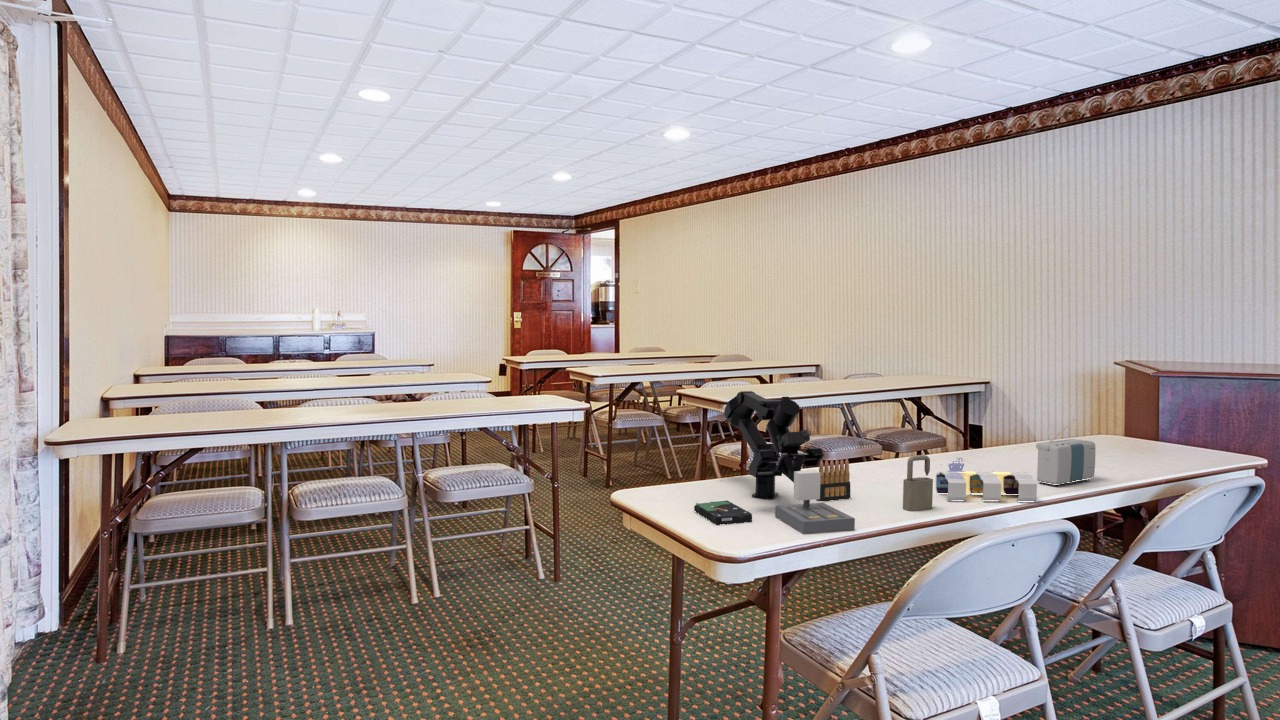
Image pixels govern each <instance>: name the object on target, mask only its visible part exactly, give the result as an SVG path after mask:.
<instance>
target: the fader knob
mask: <svg viewBox="0 0 1280 720" xmlns="http://www.w3.org/2000/svg"><path fill="white" fill-rule="evenodd" d="M793 498H794V499H795V500H798V501H803V502H802V504H803V506H804V507H810V504H811V500H812V501H814V500H816V499H820V472H819V470H818V471H817V470H813V469H812V470H801V471H794V483H793ZM816 501H817V500H816Z"/></svg>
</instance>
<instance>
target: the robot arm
mask: <svg viewBox="0 0 1280 720" xmlns="http://www.w3.org/2000/svg"><path fill="white" fill-rule="evenodd" d="M723 409H724V410H723V411H724V412H723V413H724V417H725V418H726V421H727V422H729V424H730V425H732V426H734V427H736V428H738V429H739V431H740V433H741V434H742V436H743V437H744V438H743V439H744V440H745V441H746V443H747V445H748V446H749V449H751V451H752V454H753V458H752V460H751V461H750V464H749V466H748V474H749V475H750V476H752V477H754V478H755V484H754V485H755V492H754V493H752V494H751V497H753V498H760V499H770V500H771V499H772V500H774V498H776V497H777V496H779V492H776V477H782V476H783V475H784V476H785V477H787V478H788V479H789V480H790V481H791V482H792V483H793V484H794V471H802V466H805V467H806V468H812V467H813V468H814V467H815V468H816V467H817V466H819V465H820V461H821V460H823V458H824V456H825V454H824V453H825V452H823V449H822V448H821V447H807V449H806V450H805V452H799V451H801V449H802V447H801V446H802V445H805V444H806V443H809V441H811V437H810V434H809V431H808V429H801V430H800V431H790V428H789V427H792V425H793V424H794V422H795V421H796V418H797V416H798V415H799V413H800V411H801V407H800V405H799V404H798V403H797V402H796V401H794V400H792V399H791V398H790V396H781V397H780V399H768V398H765V397H764V396H761V395H759V394H758V393H756V392H754V391H753V390H748V391H746V390H745V391H739V392H738V393H737V394H736V396H734V397H733V398H732V399H730V400H729V401H728V402H727V403H726V405H725V407H724V408H723ZM755 412H756V416H757V418H759V419H760V420H761V421H768V422H767V424H766V428H765V432H764V433H765V434H768V435H769V437H770V440H771V442H772V443H767V442H766V440H765V438H764V437H763V435H762V433H761V432H760V430H759V429H758V427H757V426H756V424H755V422H754V420H753V419H752V418H753V415H754V413H755Z"/></svg>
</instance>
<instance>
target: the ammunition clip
mask: <svg viewBox="0 0 1280 720" xmlns="http://www.w3.org/2000/svg"><path fill="white" fill-rule="evenodd" d="M843 459H844V458H841V459H840V462H839V459H838V458H836V459H835V462H834V460H833V458H831V459H830V463H829V461H828V459H825V462H823V459H821V461H820V463H819V464H818V467H819V468H818V472H820V499H816V501H817V502H819V501H824V502H831V501H830V500H834V501H840V500H839V499H845V500H850V499H851V498H852V497H851V481H850V463H849V459H848V458H847V457H846V459H845V462H844V460H843ZM849 498H850V499H849Z"/></svg>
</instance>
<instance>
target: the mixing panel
mask: <svg viewBox="0 0 1280 720" xmlns="http://www.w3.org/2000/svg"><path fill="white" fill-rule="evenodd" d="M774 507H775V508H774V510H775V511H774V518H776V519H778V520H779V519H780V520H779V521H781V522H783V523H785V524H786V525H788V526H789V527H791V528H792V529H794V530H796V531H797V532H799V533H801V534H802V535H809V534H823V533H834V532H835V533H836V532H849V531H855V530H856V529H855V526H856V525H855V523H856V522H855V521H856V518H855V517H853V516H852V515H850V514H847V513H845V512H843V511H841V510H838V509H837V508H834V506H831V505H829V504H827V503H825V502H813V503H811V502H810V507H804V506H803V503H800V504H799V503H796V504H782V505H781V504H780V505H775V506H774ZM821 532H822V533H821Z"/></svg>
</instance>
